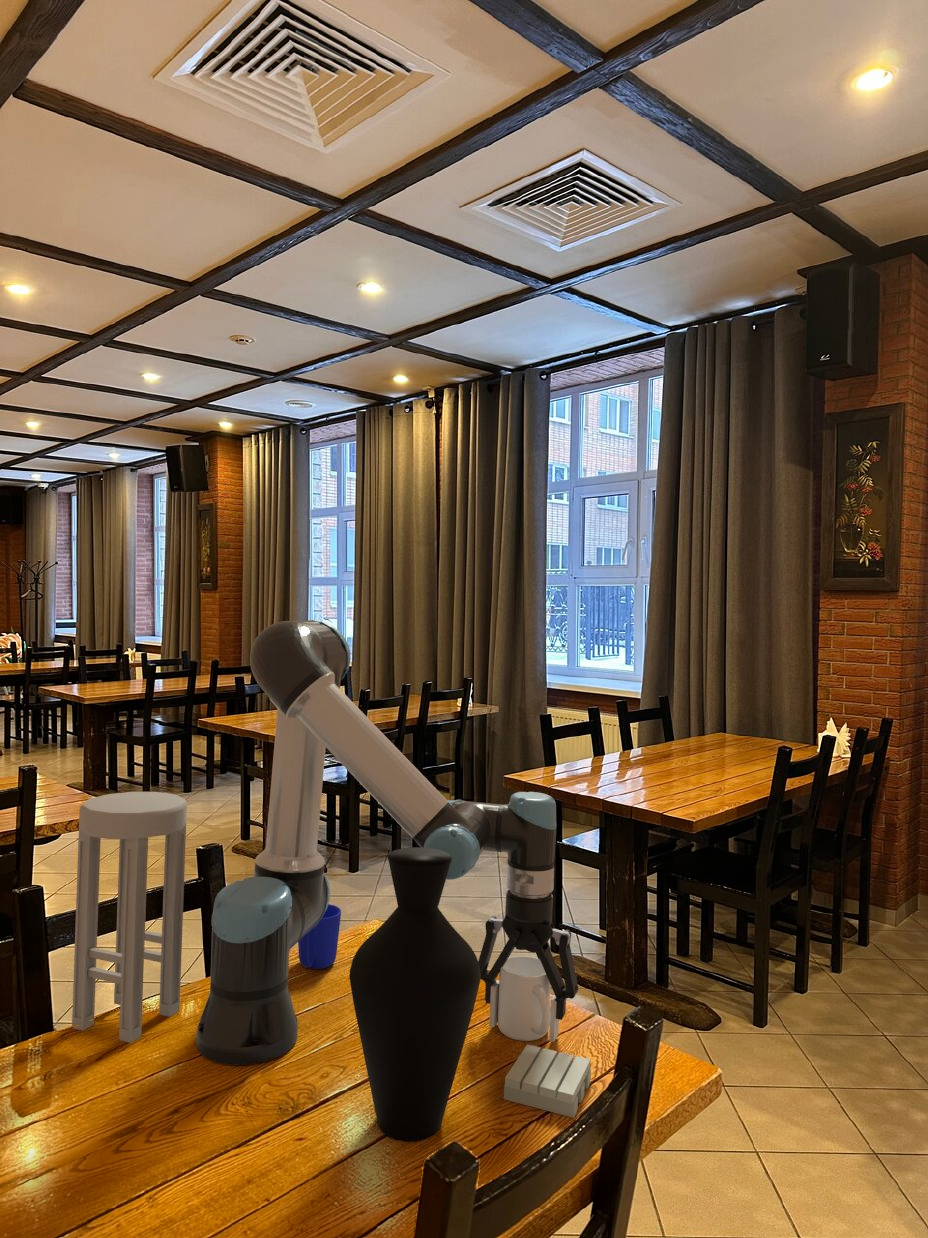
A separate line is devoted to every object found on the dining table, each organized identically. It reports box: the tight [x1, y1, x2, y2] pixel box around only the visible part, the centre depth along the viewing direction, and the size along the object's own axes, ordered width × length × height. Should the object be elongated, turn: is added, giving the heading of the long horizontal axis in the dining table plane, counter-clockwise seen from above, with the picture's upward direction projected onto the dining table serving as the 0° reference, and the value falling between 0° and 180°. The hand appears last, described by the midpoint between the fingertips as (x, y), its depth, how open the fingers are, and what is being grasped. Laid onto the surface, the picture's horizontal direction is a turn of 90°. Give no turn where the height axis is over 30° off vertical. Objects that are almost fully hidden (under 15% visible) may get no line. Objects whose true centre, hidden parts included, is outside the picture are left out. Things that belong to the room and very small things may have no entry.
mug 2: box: [497, 955, 551, 1042], centre depth 135 cm, size 12×8×10 cm
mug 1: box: [297, 903, 342, 970], centre depth 157 cm, size 8×12×10 cm
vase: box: [348, 847, 482, 1143], centre depth 111 cm, size 17×17×35 cm
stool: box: [71, 791, 188, 1044], centre depth 135 cm, size 16×16×35 cm
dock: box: [503, 1044, 592, 1119], centre depth 120 cm, size 10×10×3 cm
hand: (523, 1030), depth 136 cm, fingers closed on mug 2, 9 cm apart
